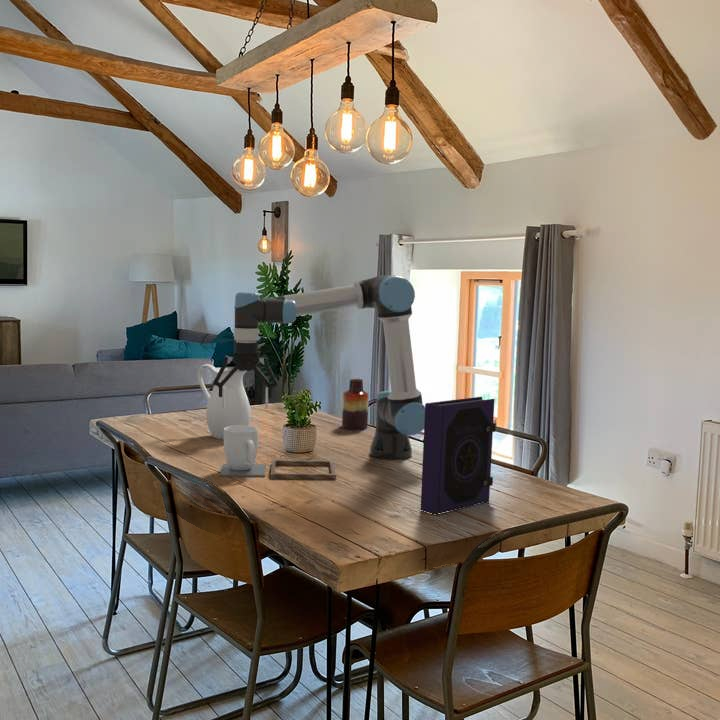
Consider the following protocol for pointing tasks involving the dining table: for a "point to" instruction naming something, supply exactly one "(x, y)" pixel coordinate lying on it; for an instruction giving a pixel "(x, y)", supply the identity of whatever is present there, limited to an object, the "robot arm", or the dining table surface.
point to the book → (457, 454)
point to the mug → (240, 446)
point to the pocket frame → (302, 475)
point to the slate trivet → (245, 471)
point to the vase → (355, 406)
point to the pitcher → (234, 402)
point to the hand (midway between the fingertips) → (245, 407)
